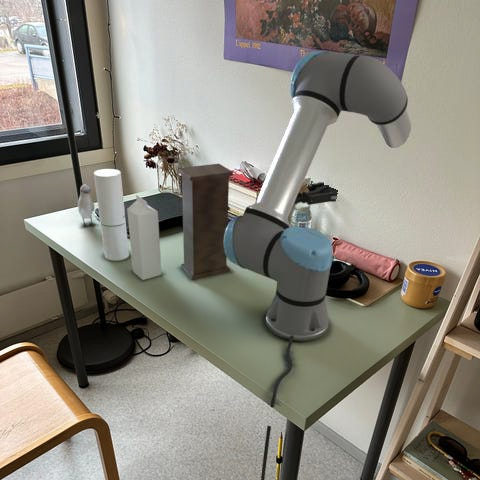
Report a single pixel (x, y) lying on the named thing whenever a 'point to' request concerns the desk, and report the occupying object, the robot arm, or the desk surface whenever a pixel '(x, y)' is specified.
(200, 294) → the desk surface
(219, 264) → the wooden pedestal column
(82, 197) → the bird
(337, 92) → the robot arm
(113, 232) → the cylindrical container
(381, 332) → the desk surface
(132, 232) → the milk
